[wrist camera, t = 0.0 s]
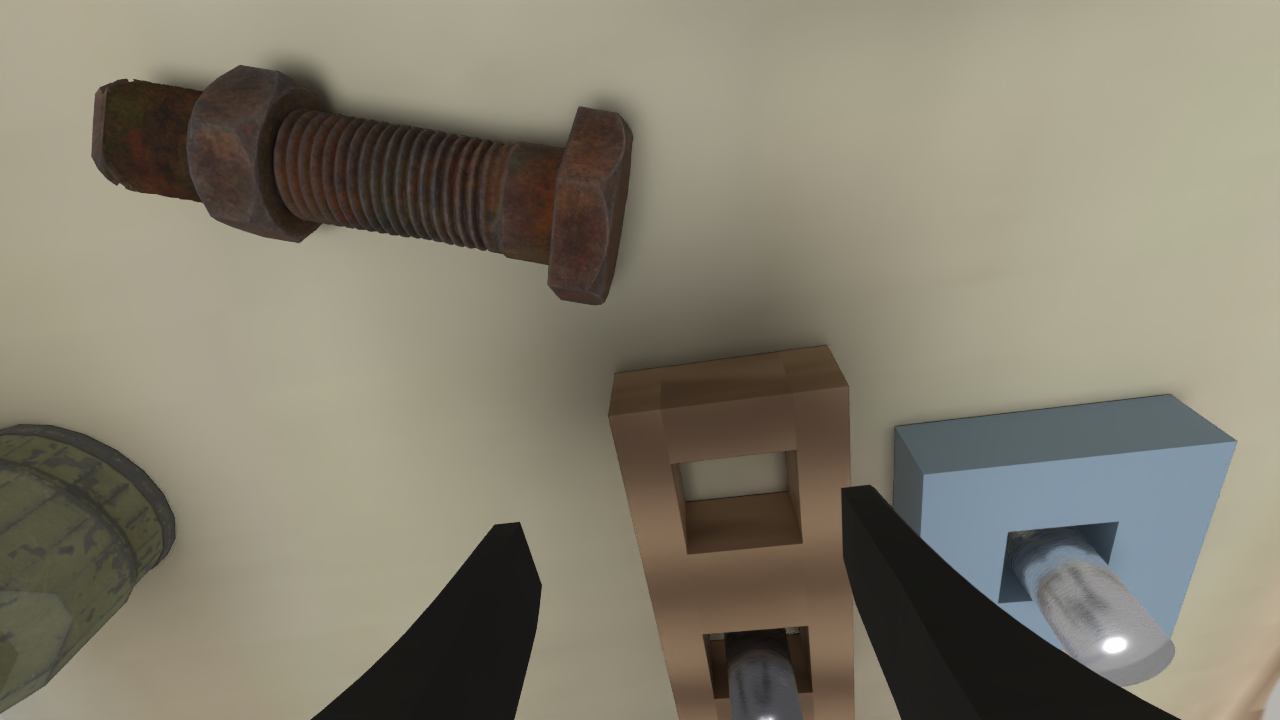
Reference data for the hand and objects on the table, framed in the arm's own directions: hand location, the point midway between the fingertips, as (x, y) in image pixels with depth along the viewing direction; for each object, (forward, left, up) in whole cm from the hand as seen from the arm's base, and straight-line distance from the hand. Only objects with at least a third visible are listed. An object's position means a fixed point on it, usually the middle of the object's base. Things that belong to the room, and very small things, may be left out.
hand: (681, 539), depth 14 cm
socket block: (-10, -13, -10) cm, 19 cm away
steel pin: (-10, -13, -10) cm, 19 cm away
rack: (-10, -1, -10) cm, 14 cm away
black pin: (-14, -1, -10) cm, 18 cm away
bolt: (+8, +8, -10) cm, 15 cm away
